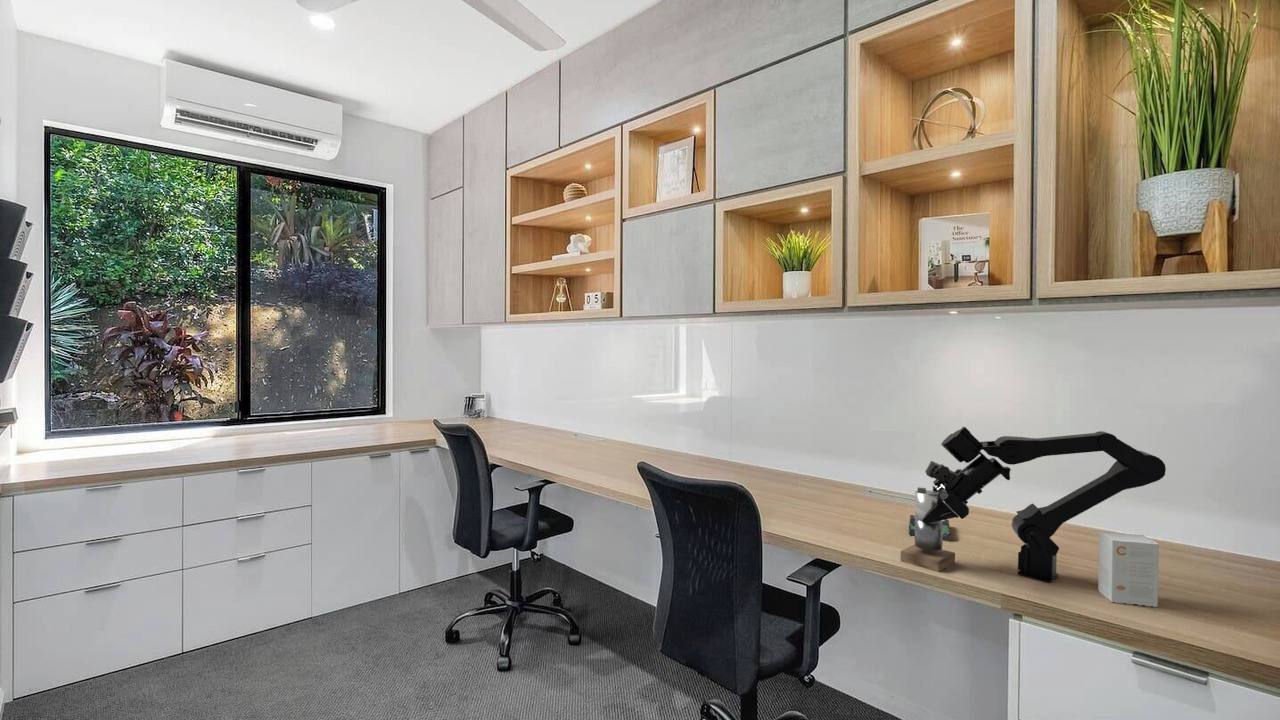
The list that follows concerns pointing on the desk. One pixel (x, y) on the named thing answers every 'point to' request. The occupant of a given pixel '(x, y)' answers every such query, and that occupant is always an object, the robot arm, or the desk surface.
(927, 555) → the stand
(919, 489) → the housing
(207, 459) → the desk surface
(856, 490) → the desk surface
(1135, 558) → the small box
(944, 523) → the disk drive
